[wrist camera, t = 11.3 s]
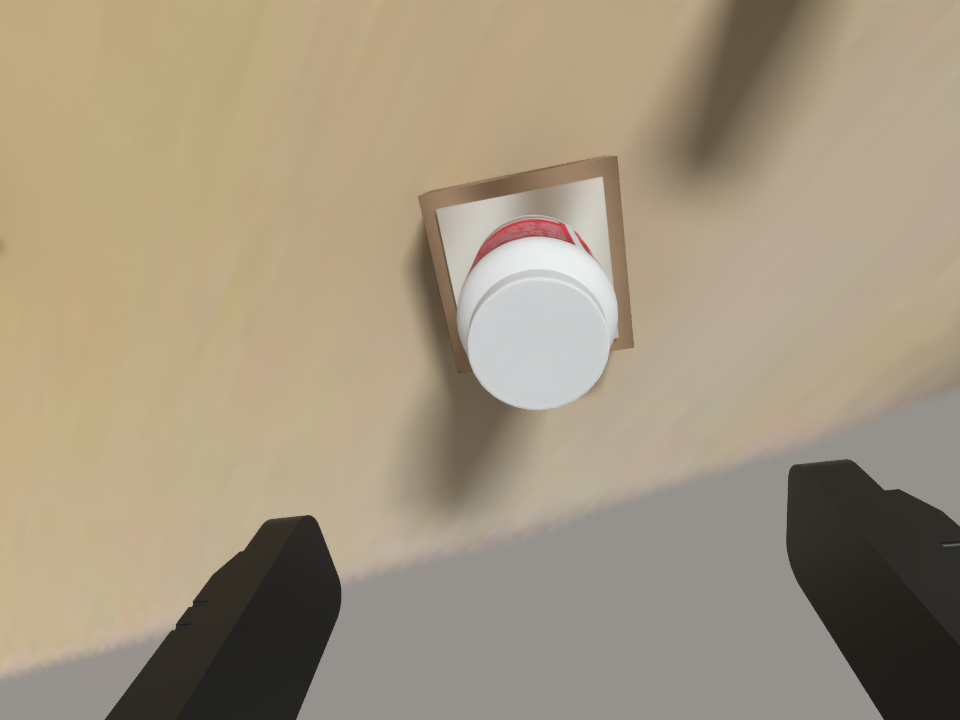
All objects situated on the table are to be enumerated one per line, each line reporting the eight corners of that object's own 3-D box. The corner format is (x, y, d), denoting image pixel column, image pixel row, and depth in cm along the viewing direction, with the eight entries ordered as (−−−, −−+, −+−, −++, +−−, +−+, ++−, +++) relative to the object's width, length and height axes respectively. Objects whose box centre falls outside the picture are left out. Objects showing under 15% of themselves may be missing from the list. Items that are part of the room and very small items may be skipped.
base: (604, 155, 28) (617, 156, 24) (621, 324, 32) (634, 349, 28) (431, 190, 30) (417, 196, 26) (465, 348, 33) (457, 375, 29)
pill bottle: (452, 287, 27) (408, 367, 17) (518, 188, 25) (513, 211, 15) (545, 350, 28) (556, 461, 18) (617, 259, 26) (676, 328, 16)
